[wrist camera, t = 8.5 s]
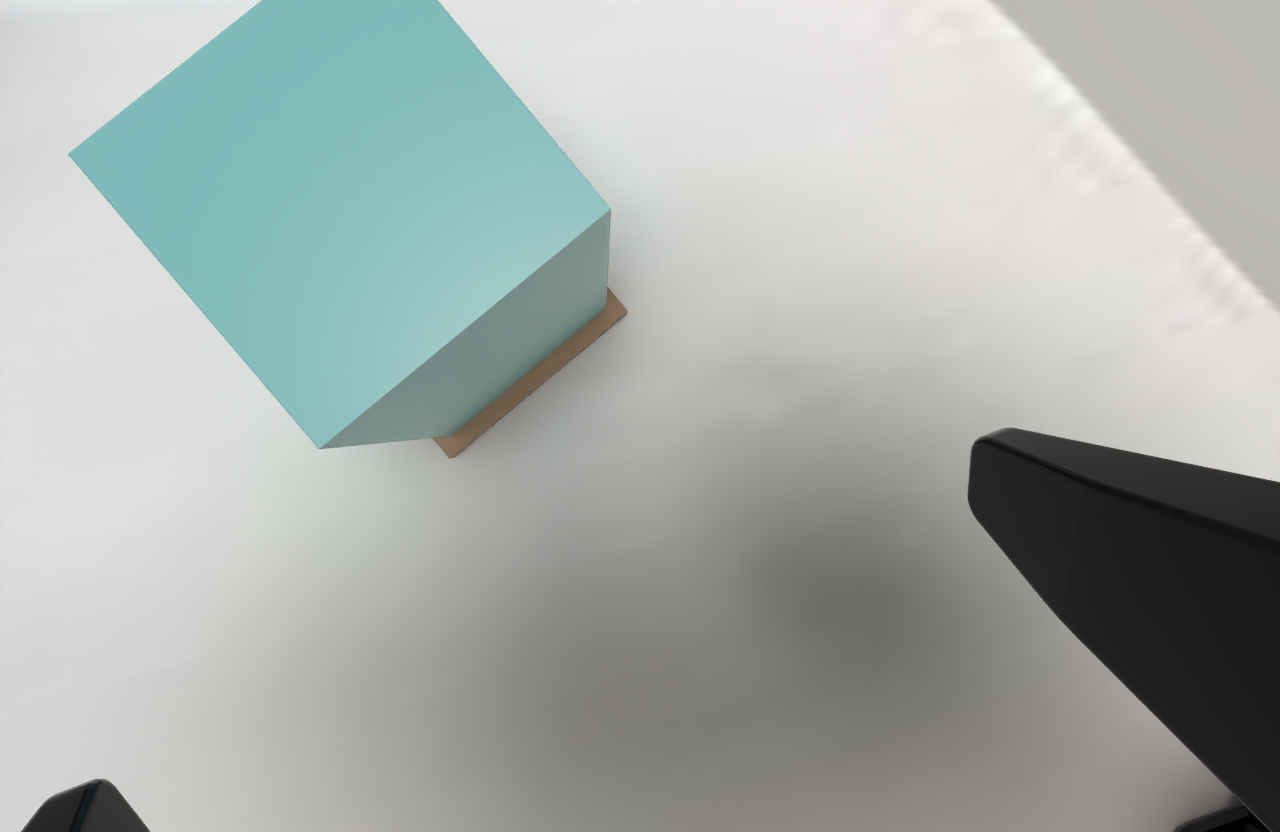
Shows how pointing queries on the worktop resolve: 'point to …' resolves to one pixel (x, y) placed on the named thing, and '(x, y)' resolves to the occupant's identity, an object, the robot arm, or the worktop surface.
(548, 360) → the brown pedestal
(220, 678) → the worktop surface
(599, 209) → the teal rectangular block
